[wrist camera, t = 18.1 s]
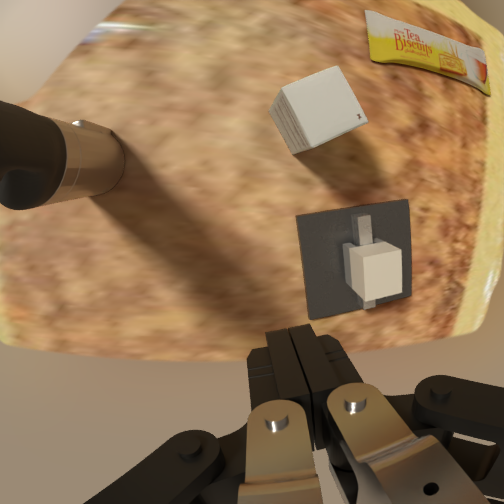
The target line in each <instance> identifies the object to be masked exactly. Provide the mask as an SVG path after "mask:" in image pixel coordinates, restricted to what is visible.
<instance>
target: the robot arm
mask: <svg viewBox="0 0 504 504" xmlns="http://www.w3.org/2000/svg"><path fill="white" fill-rule="evenodd" d="M124 159H125V158H124V153H123V150H122V147H121V145H120V144H119V142H118V141H117V140H116V139H115V138H114V137H113V136H112V134H111V130H110V129H109V128H106V127H103V126H100V125H97V124H95V123H92V122H89V121H86V120H78V121H75V122H73V123H68V122H64V121H60V120H56V119H52V118H49V117H45V116H41V115H38V114H35V113H33V112H31V111H29V110H27V109H24V108H22V107H19V106H16V105H13V104H10V103H6V102H3V101H0V203H1V204H2V205H4V206H5V207H7V208H9V209H13V210H26V209H31V208H35V207H40V206H44V205H49V204H54V203H58V202H63V201H68V200H73V199H78V198H83V197H88V196H96V195H99V194H103V193H105V192H108V191H109V190H110V189H112V188H113V187H114V186H115V185H116V184H117V182H118V181H119V179H120V178H121V175H122V173H123V169H124ZM265 334H266V340H267V346H268V347H263V348H257V349H252V351H251V352H250V354H249V356H248V358H247V368H248V378H249V389H250V399H251V413H250V415H249V417H248V421H247V423H246V424H245V425H244V426H243V427H242V428H240V429H239V430H237V431H235V432H233V433H231V434H228V435H226V436H223V437H220V438H216V437H215V436H214V435H213V434H211V433H209V432H206V431H202V430H189V431H184V432H181V433H178V434H176V435H174V436H173V437H171V438H170V439H169V440H167V441H166V442H165V443H164V444H163V445H161V446H160V447H159V448H158V449H156V450H155V451H154V452H153V453H151V454H150V455H149V456H147V457H146V458H145V459H144V460H142V461H141V462H140V463H139V464H137V465H136V466H135V467H133V468H132V469H131V470H129V471H128V472H127V473H125V474H124V475H123V476H121V477H120V478H119V479H117V480H116V481H115V482H113V483H112V484H110V485H109V486H108V487H106V488H105V489H103V490H102V491H101V492H99V493H98V494H97V495H95V496H93V497H92V498H91V499H89V500H88V501H86V502H85V503H84V504H323V500H322V495H321V488H320V483H319V478H318V475H317V474H316V470H315V464H314V459H313V453H312V451H314V443H315V446H316V449H317V450H320V449H324V448H326V450H327V453H328V456H329V469H330V472H331V474H332V476H333V478H334V481H335V483H336V485H337V487H338V490H339V492H340V494H341V496H342V499H343V501H344V503H345V504H504V502H502V501H498V500H494V499H489V498H486V497H485V496H484V495H486V496H491V497H495V498H500V499H504V388H502V387H498V386H493V385H488V384H483V383H478V382H474V381H469V380H464V379H460V378H456V377H451V376H446V375H436V376H431V377H428V378H426V379H424V380H422V381H421V382H420V383H419V384H418V385H417V386H416V388H415V393H414V394H408V395H398V396H386V395H383V394H382V393H381V392H380V391H379V390H378V389H377V388H376V387H374V386H372V385H370V384H366V383H364V382H363V380H362V379H361V377H360V375H359V374H358V372H357V370H356V369H355V367H354V365H353V364H352V362H351V361H350V359H349V358H348V356H347V354H346V352H345V351H344V350H343V348H342V346H341V344H340V343H339V341H338V340H337V339H335V338H333V337H331V336H330V335H328V334H327V335H322V336H318V337H316V335H315V333H314V331H313V329H312V327H311V325H310V324H305V325H300V326H295V327H290V328H288V330H287V328H286V329H281V330H275V331H270V332H265ZM454 432H455V433H459V434H463V435H467V436H471V437H474V438H478V439H483V440H487V441H492V442H494V443H496V444H495V445H491V446H487V445H483V444H478V443H475V442H471V441H466V440H463V439H459V438H456V437H453V434H454Z"/></svg>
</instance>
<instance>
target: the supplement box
mask: <svg viewBox="0 0 504 504" xmlns="http://www.w3.org/2000/svg"><path fill="white" fill-rule="evenodd" d="M269 113H270V115H271V116H272V118H273V120H274V122H275V124H276V125H277V127H278V129H279V131H280V133H281V135H282V137H283V138H284V140H285V142H286V144H287V146H288V148H289V150H290V152H291V153H292V155H294V154H297V153H300V152H303V151H306V150H310V149H312V148H315V147H317V146H319V145H321V144H323V143H325V142H328V141H330V140H332V139H334V138H336V137H338V136H340V135H342V134H345V133H347V132H349V131H351V130H353V129H355V128H357V127H360V126H362V125H364V124H366V123H368V122H369V121H368V120H367V118H366V116H365V114H364V112H363V110H362V108H361V106H360V104H359V102H358V101H357V99H356V97H355V95H354V93H353V91H352V89H351V87H350V86H349V84H348V82H347V80H346V79H345V77H344V75H343V73H342V72H341V70H340V68H339V67H338V66H334V67H331V68H328V69H325V70H323V71H320V72H318V73H315V74H312V75H310V76H307V77H305V78H303V79H300V80H298V81H295V82H293V83H291V84H288V85H286V86H284V87H282V88H281V90H280V91H279V93H278V95H277V96H276V98H275V100H274V102H273V104H272V105H271V107H270V109H269Z"/></svg>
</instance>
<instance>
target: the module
mask: <svg viewBox="0 0 504 504" xmlns="http://www.w3.org/2000/svg"><path fill="white" fill-rule="evenodd" d="M372 239H373V244H369V245H364V246H359V247H357V246H355V245H353V244H352V243H345V244H343V255H344V266H345V279H346V283H347V284H348V285H349V286H350V287H351V288H352V289H353V290H354V291H355V292H356V293H357V294H358V295H359V296H360V297H361V298H362V299H363V300H364V301H365V302H366V301H370V300H374V299H378V298H382V297H386V296H390V295H394V294H398V293H402V255H401V249H399V248H397V247H395V246H393V245H391V244H389V243H387V242H385V241H382V240H380V239H378V238H372Z"/></svg>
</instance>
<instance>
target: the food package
mask: <svg viewBox="0 0 504 504" xmlns="http://www.w3.org/2000/svg"><path fill="white" fill-rule="evenodd" d="M365 13H366V14H365V16H366V20H367V21H366V22H367V30H368V31H367V32H368V33H367V34H368V37H369V38H368V39H369V40H368V41H369V47H370V48H369V49H370V59H371V60H373V61H377V62H383V63H387V62H394V63H400V64H406V65H411V66H415V67H419V68H423V69H427V70H430V71H434V72H437V73H440V74H443V75H446V76H449V77H452V78H455V79H458V80H460V81H463V82H465V83H468V84H470V85H472V86H474V87H476V88H478V89H480V90H481V91H482V92H484V93H485V94H488V95H491V93H490V85H489V84H490V83H489V78H488V77H489V76H488V70H487V65H486V59H485V53H484V51H483V50H482V49H479V48H476V47H470V46H468V45H465V44H462V43H460V42H457V41H455V40H452V39H449V38H447V37H444V36H442V35H439V34H436V33H433V32H431V31H428V30H425V29H422V28H419V27H416V26H413V25H410V24H407V23H404V22H401V21H398V20H395V19H392V18H389V17H386V16H384V15H381V14H379V13H377V12H374V11H370V10H365Z"/></svg>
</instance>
